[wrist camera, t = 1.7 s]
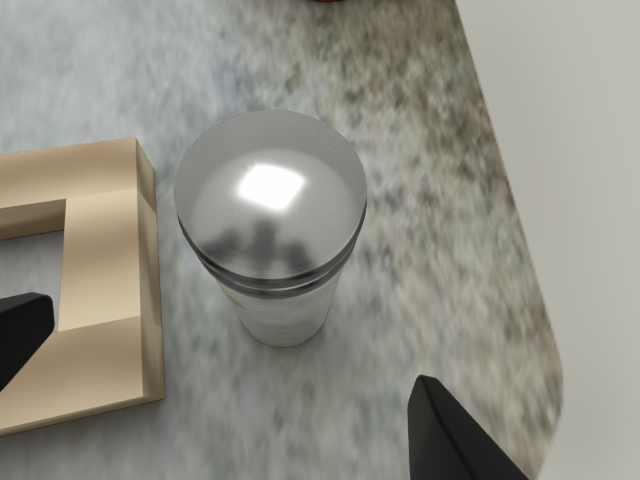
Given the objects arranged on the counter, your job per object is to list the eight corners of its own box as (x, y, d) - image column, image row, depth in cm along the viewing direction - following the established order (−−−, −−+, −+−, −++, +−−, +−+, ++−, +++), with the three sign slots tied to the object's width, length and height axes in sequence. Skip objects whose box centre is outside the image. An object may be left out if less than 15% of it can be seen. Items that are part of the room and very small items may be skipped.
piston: (347, 318, 20) (409, 215, 9) (264, 368, 19) (222, 316, 8) (301, 244, 22) (308, 84, 11) (221, 285, 21) (140, 148, 10)
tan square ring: (165, 397, 18) (142, 396, 15) (-167, 475, 16) (-262, 489, 13) (153, 168, 23) (135, 137, 21) (-94, 203, 21) (-150, 173, 19)
